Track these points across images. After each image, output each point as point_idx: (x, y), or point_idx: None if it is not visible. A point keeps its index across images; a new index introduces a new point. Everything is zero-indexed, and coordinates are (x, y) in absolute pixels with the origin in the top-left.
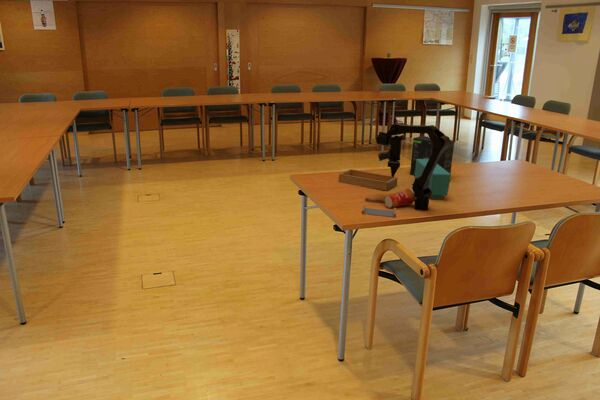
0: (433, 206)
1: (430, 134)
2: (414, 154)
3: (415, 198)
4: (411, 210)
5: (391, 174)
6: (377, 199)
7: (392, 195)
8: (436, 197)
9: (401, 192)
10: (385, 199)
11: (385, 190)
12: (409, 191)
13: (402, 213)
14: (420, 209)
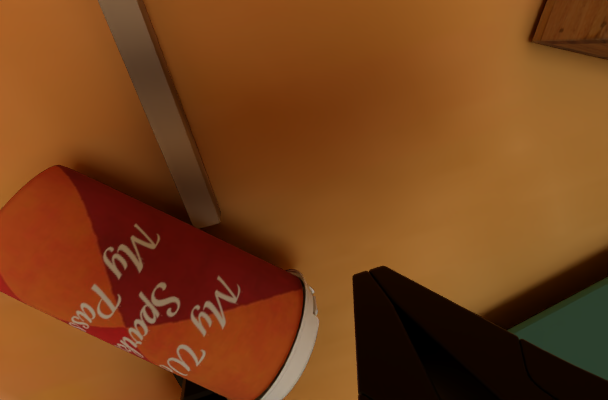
0: (301, 393)
1: None
2: None
3: (210, 394)
4: None
5: (354, 309)
6: (135, 47)
7: (25, 283)
8: None
9: (158, 345)
10: (38, 179)
11: (537, 27)
12: (226, 393)
13: (3, 323)
14: (178, 378)
